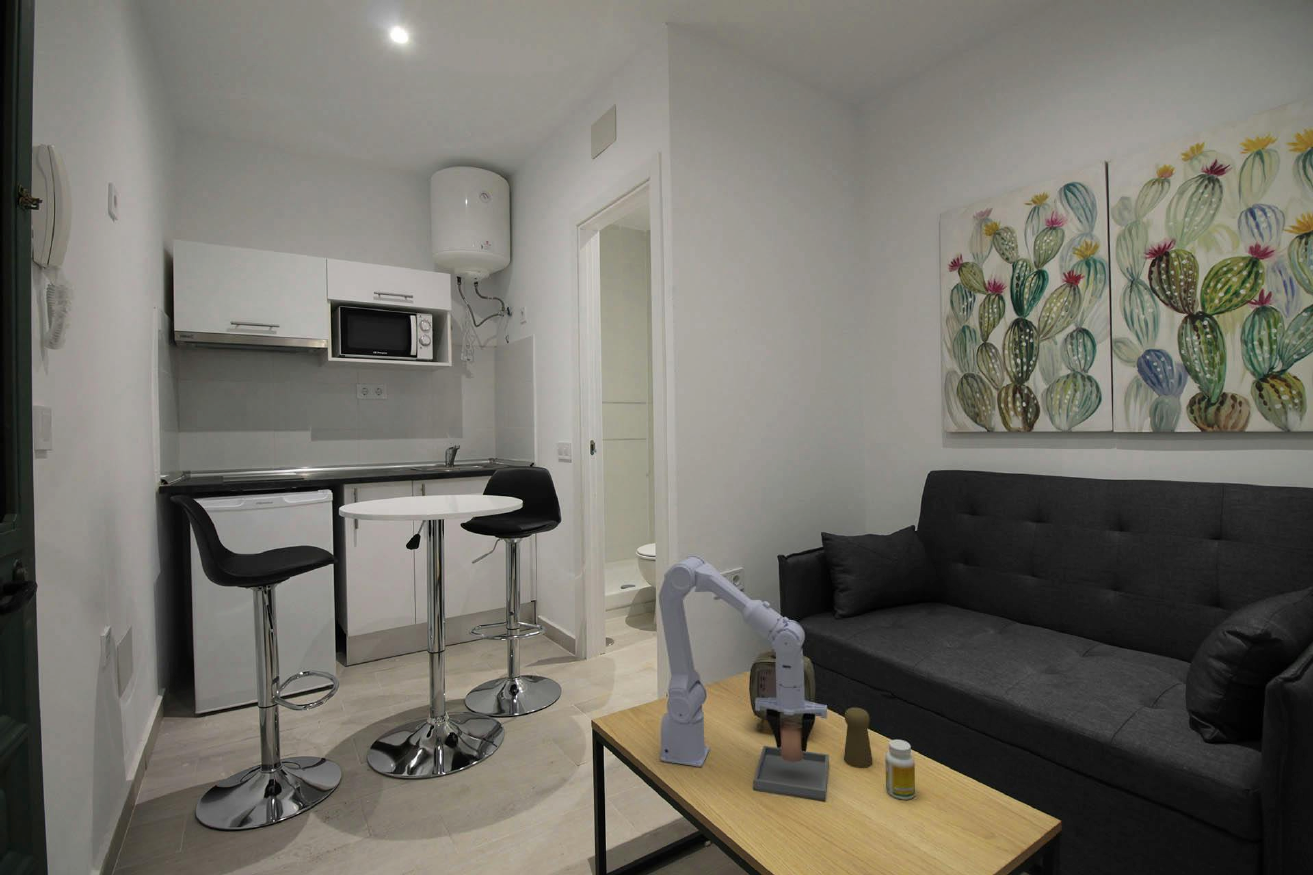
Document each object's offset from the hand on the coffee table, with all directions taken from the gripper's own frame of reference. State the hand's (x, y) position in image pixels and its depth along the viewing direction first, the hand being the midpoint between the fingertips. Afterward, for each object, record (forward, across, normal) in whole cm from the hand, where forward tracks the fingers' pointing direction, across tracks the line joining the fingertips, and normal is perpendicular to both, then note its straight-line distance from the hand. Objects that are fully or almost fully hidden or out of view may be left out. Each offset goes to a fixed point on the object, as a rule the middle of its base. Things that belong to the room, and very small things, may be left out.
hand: (791, 747), depth 127 cm
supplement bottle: (+6, +21, 0) cm, 22 cm away
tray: (+6, 0, 0) cm, 6 cm away
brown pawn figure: (+6, +13, +10) cm, 18 cm away
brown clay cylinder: (+2, 0, 0) cm, 2 cm away
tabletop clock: (+6, -4, +20) cm, 21 cm away
